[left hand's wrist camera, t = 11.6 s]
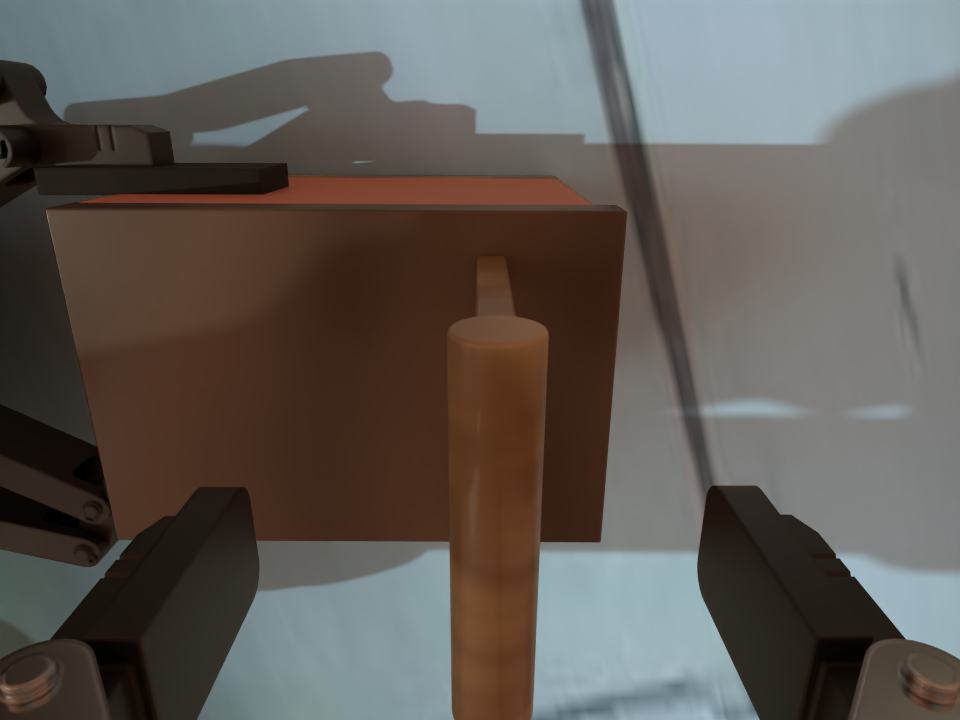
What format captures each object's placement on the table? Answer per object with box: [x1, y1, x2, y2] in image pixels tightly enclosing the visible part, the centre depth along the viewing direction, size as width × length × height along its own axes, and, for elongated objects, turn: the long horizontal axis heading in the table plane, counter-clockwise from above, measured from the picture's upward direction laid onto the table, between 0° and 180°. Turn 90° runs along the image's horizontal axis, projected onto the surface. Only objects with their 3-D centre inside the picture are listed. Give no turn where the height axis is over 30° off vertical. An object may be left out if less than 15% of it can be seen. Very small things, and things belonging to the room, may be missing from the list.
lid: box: [45, 202, 627, 720], centre depth 14 cm, size 14×10×9 cm
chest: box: [81, 175, 592, 205], centre depth 23 cm, size 14×10×10 cm
